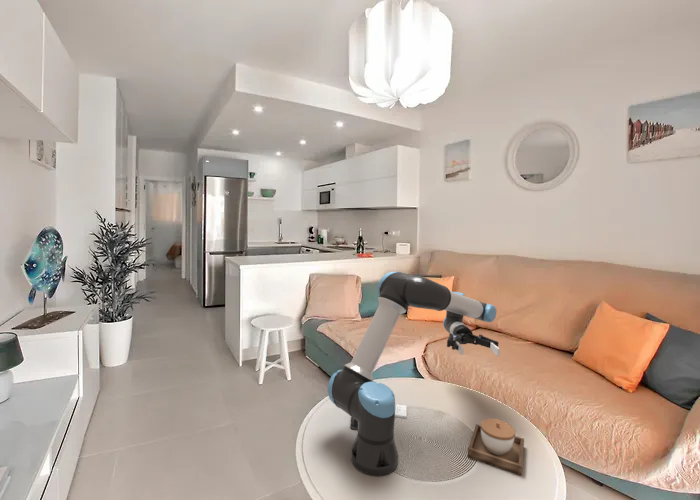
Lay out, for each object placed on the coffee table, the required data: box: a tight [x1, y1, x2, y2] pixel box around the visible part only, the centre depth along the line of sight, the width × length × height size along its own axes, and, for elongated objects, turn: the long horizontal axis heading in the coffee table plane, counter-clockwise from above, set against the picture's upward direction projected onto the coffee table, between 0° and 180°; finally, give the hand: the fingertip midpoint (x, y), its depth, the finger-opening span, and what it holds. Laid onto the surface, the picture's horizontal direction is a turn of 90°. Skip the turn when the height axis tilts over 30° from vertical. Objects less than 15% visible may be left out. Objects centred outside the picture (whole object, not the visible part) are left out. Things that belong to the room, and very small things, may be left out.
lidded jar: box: [480, 418, 516, 455], centre depth 115 cm, size 11×11×9 cm
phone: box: [349, 416, 358, 431], centre depth 133 cm, size 8×1×15 cm
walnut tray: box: [467, 423, 525, 477], centre depth 116 cm, size 16×16×3 cm
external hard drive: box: [395, 403, 408, 420], centre depth 139 cm, size 2×8×12 cm
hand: (480, 351), depth 126 cm, fingers open, 13 cm apart
